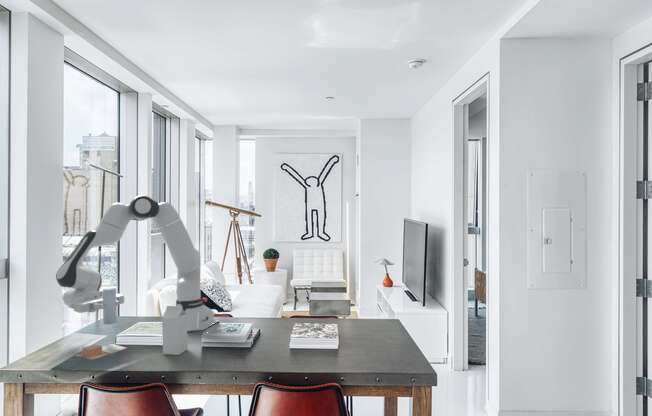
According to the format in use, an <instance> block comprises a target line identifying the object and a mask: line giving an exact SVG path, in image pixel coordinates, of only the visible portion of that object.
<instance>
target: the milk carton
mask: <svg viewBox="0 0 652 416" xmlns="http://www.w3.org/2000/svg"><path fill="white" fill-rule="evenodd" d="M161 321H162V323H161V324H162V333H161V334H162V355H169V356H170V355H173V356H174V355H175V356H179V355H181V354H183V353H184V352H185V351H187V350H188V331H187V314H186V312H185V311H184V310H183V309H182V306H176V305H166V309H165V311H164V313H163V315H162V317H161Z"/></svg>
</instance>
